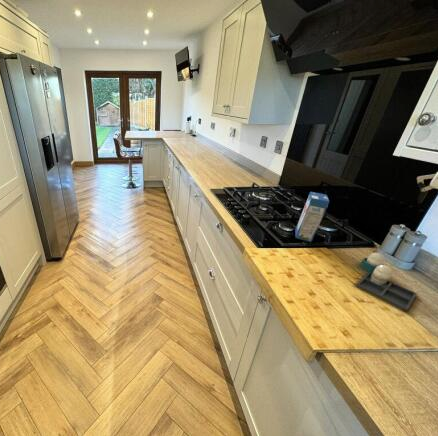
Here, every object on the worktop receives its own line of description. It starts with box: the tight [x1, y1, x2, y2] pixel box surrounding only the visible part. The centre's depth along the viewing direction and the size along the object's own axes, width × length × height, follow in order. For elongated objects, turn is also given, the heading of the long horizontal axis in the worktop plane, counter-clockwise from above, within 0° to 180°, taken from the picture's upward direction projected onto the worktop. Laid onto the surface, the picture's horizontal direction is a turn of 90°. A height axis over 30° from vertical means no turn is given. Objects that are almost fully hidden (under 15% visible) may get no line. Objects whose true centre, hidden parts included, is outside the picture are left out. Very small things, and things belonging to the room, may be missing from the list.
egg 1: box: [366, 252, 385, 267], centre depth 87 cm, size 4×4×7 cm
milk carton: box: [294, 191, 330, 243], centre depth 106 cm, size 10×6×20 cm, turn 151°
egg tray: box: [355, 272, 418, 313], centre depth 78 cm, size 13×13×2 cm
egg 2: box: [371, 264, 393, 285], centre depth 80 cm, size 4×4×7 cm
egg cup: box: [359, 257, 384, 273], centre depth 88 cm, size 6×6×4 cm
